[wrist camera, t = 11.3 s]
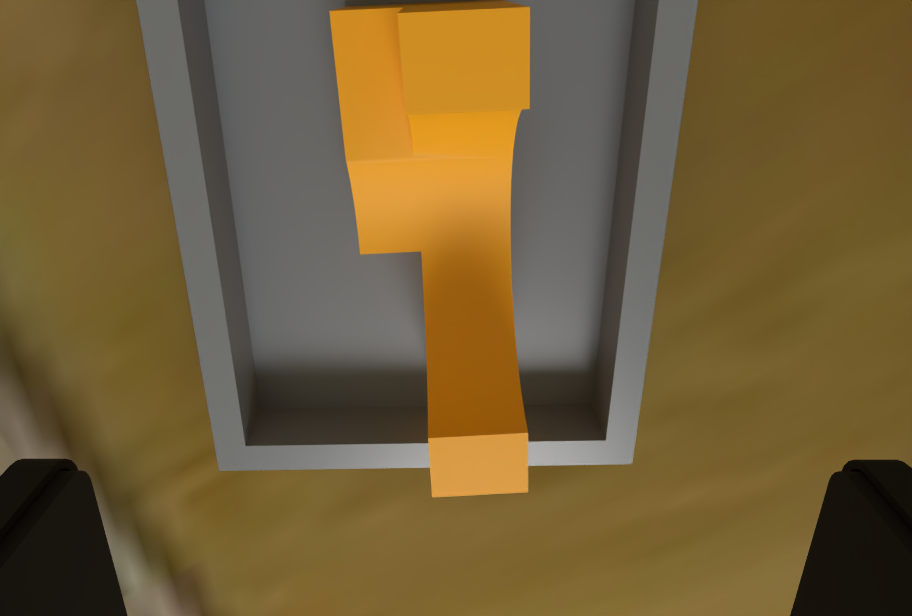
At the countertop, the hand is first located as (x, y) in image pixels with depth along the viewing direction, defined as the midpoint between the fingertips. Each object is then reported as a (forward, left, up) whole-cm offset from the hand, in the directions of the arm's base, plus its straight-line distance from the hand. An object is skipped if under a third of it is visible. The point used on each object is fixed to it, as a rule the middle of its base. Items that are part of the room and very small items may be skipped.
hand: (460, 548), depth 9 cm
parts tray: (+1, 0, -15) cm, 15 cm away
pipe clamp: (0, 0, -15) cm, 15 cm away
